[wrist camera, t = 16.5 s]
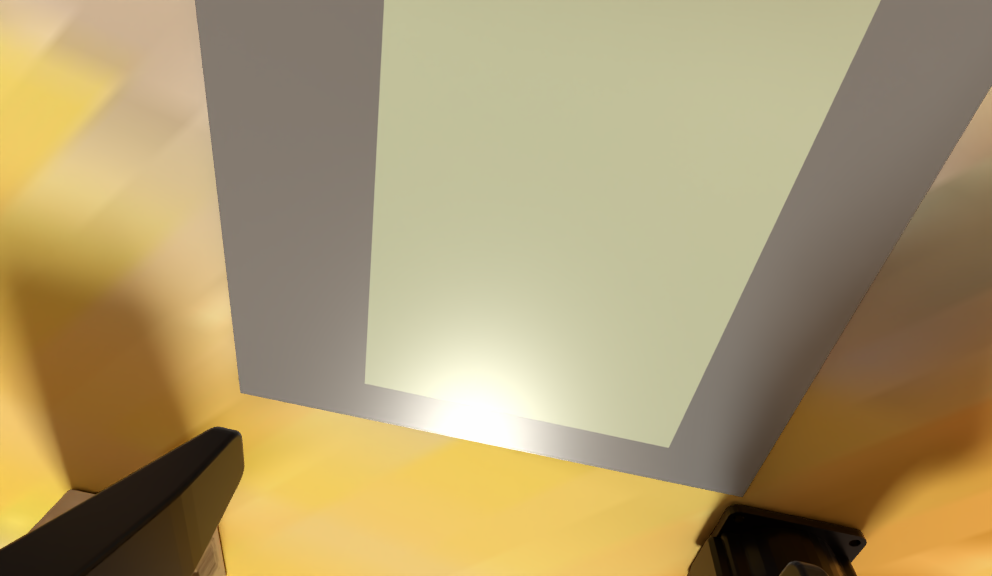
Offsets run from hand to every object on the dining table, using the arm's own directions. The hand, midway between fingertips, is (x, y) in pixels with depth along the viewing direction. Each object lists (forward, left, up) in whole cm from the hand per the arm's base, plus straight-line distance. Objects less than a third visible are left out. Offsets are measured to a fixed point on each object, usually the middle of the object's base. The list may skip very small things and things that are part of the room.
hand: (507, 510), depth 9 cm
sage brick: (0, -5, -4) cm, 7 cm away
